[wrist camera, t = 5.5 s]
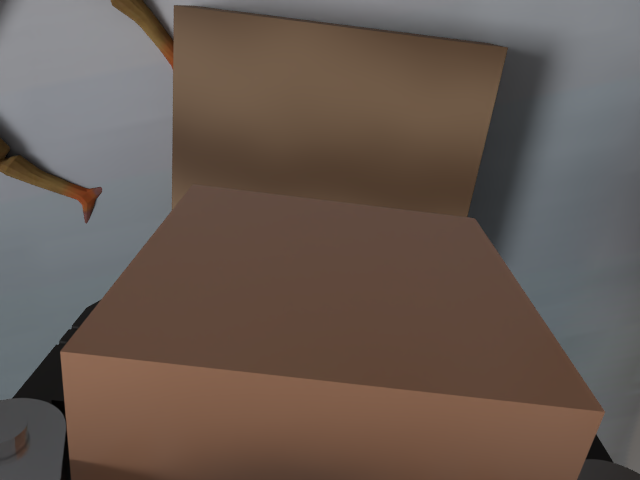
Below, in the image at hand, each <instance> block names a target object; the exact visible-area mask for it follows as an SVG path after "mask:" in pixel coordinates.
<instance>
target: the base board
mask: <svg viewBox="0 0 640 480" xmlns="http://www.w3.org/2000/svg"><path fill="white" fill-rule="evenodd" d="M507 50H508V48H507V47H503V46H498V45H494V44H490V43H482V42H474V41H466V40H458V39H450V38H443V37H435V36H427V35H419V34H411V33H403V32H395V31H387V30H379V29H372V28H364V27H356V26H348V25H340V24H332V23H324V22H316V21H309V20H301V19H293V18H285V17H277V16H269V15H261V14H253V13H246V12H238V11H230V10H222V9H214V8H206V7H198V6H184V5H174V46H173V153H172V210H173V209H174V207H175V206H176V205H177V204H178V202H179V201H180V200H181V199H182V197H183V196H184V195H185V194H186V192H187V191H188V190H189V188H190V187H191V186H192V185H193V184H194V185H202V186H210V187H219V188H227V189H235V190H244V191H252V192H260V193H269V194H277V195H285V196H294V197H302V198H311V199H319V200H327V201H336V202H344V203H352V204H361V205H369V206H377V207H386V208H394V209H402V210H411V211H419V212H427V213H436V214H444V215H452V216H461V217H467V216H468V212H469V207H470V203H471V199H472V195H473V191H474V187H475V182H476V178H477V174H478V170H479V166H480V162H481V158H482V153H483V149H484V145H485V141H486V137H487V133H488V128H489V124H490V120H491V116H492V112H493V108H494V104H495V99H496V95H497V91H498V87H499V83H500V79H501V75H502V70H503V66H504V62H505V58H506V54H507Z"/></svg>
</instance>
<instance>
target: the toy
mask: <svg viewBox="0 0 640 480" xmlns="http://www.w3.org/2000/svg"><path fill="white" fill-rule="evenodd" d="M111 3H112V6H114V7H115V8H117V9H118V10H120V11H121V12H122V13H124V14H125V15H127V16H128V17H130V18H131V19H132V20H134V21H135V22H136V23H137V24H138V25H139V26H140V27H141V28H142V29H143V30H144V31H145V33H146V34H147V35H148V36H149V37H150V39H151V40H152V41H153V42H154V43H155V45H156V46H157V47H158V48H159V49H160V51H161V52H162V53H163V55H164V56H165V57H166V59H167V60H168V62H169V63H170V64H171V66H172V68H173V46H174V41H173V40H172V38H171V37H170V36H169V34H168V33H167V32H166V30H165V29H164V27H163V26H162V25H161V23H160V22H159V21H158V19H157V18H156V17H155V15H154V14H153V13H152V11H151V10H150V9H149V8H148V7H147V5H146V4H145V3H144V2H143V0H111ZM9 151H10V147H9V146H8V145H7V144H6V143H5V142H4V141H3V140H2V139H1V138H0V172H2V173H4V174H5V175H7V176H10V177H13V178H16V179H18V180H21V181H24V182H27V183H30V184H32V185H35V186H38V187H41V188H44V189H47V190H50V191H53V192H56V193H59V194H62V195H65V196H68V197H71V198H74V199H77V200H78V201H79V202H80V203H81V204H82V206H83V213H84V219H85V223H87V222H88V220H89V219H90V216H91V213H92V210H93V207H94V203H95V200H96V198H97V197H98V196H99V195H100V194H101V193H102V188H101V187H97V188H92V189H88V188H84V187H81V186H78V185H75V184H73V183H70V182H68V181H66V180H63V179H61V178H59V177H56V176H54V175H51V174H48V173H46V172H44V171H42V170H40V169H39V168H37V167H36V166H34V165H33V164H32V163H30V162H29V161H27V160H26V159H25V158H23V157H22V156H20V155H17V156H12V157H10V158H6V155H7V154H8V152H9Z"/></svg>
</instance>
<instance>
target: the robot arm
mask: <svg viewBox="0 0 640 480" xmlns="http://www.w3.org/2000/svg"><path fill="white" fill-rule="evenodd" d="M100 301H101V300H100ZM100 301H98V302H96V303H94V304H93V305H91V306H89V307H87V308H86V309H85V310H84V312H83V313H82V314H81V315H80V316H79V318H78V319H77V320H76V321H75V323H74V324H73V325H72V329H69V330H68V331H67V332H66V333H65V335H64V336H63V337H62V338H61V340H60V342H59V345H56V346H55V347H54V348H53V349H52V350H51V352H50V353H49V354H48V355H47V357H46V358H45V359H44V360H43V361H42V363H41V364H40V365H39V366H38V368H37V369H36V370H35V371H34V372H33V374H32V375H31V376H30V377H29V378H28V380H27V381H26V382H25V383H24V385H23V386H22V387H21V388H20V389H19V391H18V392H17V393H16V394H15V396H14V397H13V398H12V399H5V400H0V480H71V472H70V460H69V448H68V437H67V425H66V413H65V402H64V390H63V379H62V367H61V355H60V351H61V350H62V349H63V347H64V346H65V345H66V344H67V342H68V341H69V340H70V338H71V337H72V336H73V335H74V333H75V332H76V331H77V330H78V328H79V327H80V326H81V325H82V323H83V322H84V321H85V320H86V318H87V317H88V316H89V315H90V313H91V312H92V311H93V309H94V308H95V307H96V306H97V304H98V303H99V302H100ZM577 480H640V474H639V473H637V472H635V471H633V470H631V469H629V468H627V467H624V466H622V465H619V464H616V463H613V461H612V459H611V458H610V456H609V454H608V453H607V451H606V450H605V448H604V446H603V445H602V443H601V441H600V440H599V438H598V437H597V435H595V437H594V440H593V442H592V445H591V447H590V450H589V452H588V454H587V457H586V459H585V462H584V464H583V467H582V469H581V471H580V474H579V476H578V479H577Z"/></svg>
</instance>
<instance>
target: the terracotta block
mask: <svg viewBox="0 0 640 480" xmlns="http://www.w3.org/2000/svg"><path fill="white" fill-rule="evenodd" d="M60 355H61V367H62V379H63V390H64V402H65V413H66V425H67V437H68V448H69V460H70V472H71V480H577V479H578V476H579V474H580V471H581V469H582V467H583V464H584V462H585V459H586V457H587V454H588V452H589V450H590V447H591V445H592V442H593V440H594V437H595V435H596V433H597V430H598V428H599V425H600V423H601V421H602V418H603V416H604V413H605V411H604V410H603V408H602V407H601V405H600V404H599V402H598V401H597V399H596V398H595V396H594V395H593V393H592V392H591V390H590V389H589V387H588V386H587V384H586V383H585V381H584V380H583V378H582V377H581V375H580V374H579V373H578V371H577V370H576V368H575V367H574V365H573V364H572V362H571V361H570V359H569V358H568V356H567V355H566V353H565V352H564V350H563V349H562V347H561V346H560V344H559V343H558V341H557V340H556V338H555V337H554V335H553V334H552V332H551V331H550V329H549V328H548V326H547V325H546V323H545V322H544V320H543V319H542V317H541V316H540V314H539V313H538V311H537V310H536V308H535V307H534V305H533V304H532V302H531V301H530V300H529V298H528V297H527V295H526V294H525V292H524V291H523V289H522V288H521V286H520V285H519V283H518V282H517V280H516V279H515V277H514V276H513V274H512V273H511V271H510V270H509V268H508V267H507V265H506V264H505V262H504V261H503V259H502V258H501V256H500V255H499V253H498V252H497V250H496V249H495V247H494V246H493V244H492V243H491V241H490V240H489V238H488V237H487V235H486V234H485V232H484V231H483V229H482V228H481V226H480V225H479V224H478V222H477V221H476V219H475V218H469V217H461V216H452V215H444V214H436V213H427V212H419V211H411V210H402V209H394V208H386V207H377V206H369V205H361V204H352V203H344V202H336V201H327V200H319V199H311V198H302V197H294V196H285V195H277V194H269V193H260V192H252V191H244V190H235V189H227V188H219V187H210V186H202V185H194V184H193V185H192V186H191V187H190V188H189V190H188V191H187V192H186V194H185V195H184V196H183V197H182V199H181V200H180V201H179V202H178V204H177V205H176V206H175V207H174V209H173V210H172V211H171V212H170V214H169V215H168V216H167V217H166V219H165V220H164V221H163V223H162V224H161V225H160V226H159V228H158V229H157V230H156V231H155V233H154V234H153V235H152V236H151V238H150V239H149V240H148V241H147V243H146V244H145V245H144V246H143V248H142V249H141V250H140V251H139V253H138V254H137V255H136V257H135V258H134V259H133V260H132V262H131V263H130V264H129V265H128V267H127V268H126V269H125V270H124V272H123V273H122V274H121V275H120V277H119V278H118V279H117V280H116V282H115V283H114V284H113V286H112V287H111V288H110V289H109V291H108V292H107V293H106V294H105V296H104V297H103V298H102V299H101V301H100V302H99V303H98V304H97V306H96V307H95V308H94V309H93V311H92V312H91V313H90V315H89V316H88V317H87V318H86V320H85V321H84V322H83V323H82V325H81V326H80V327H79V328H78V330H77V331H76V332H75V333H74V335H73V336H72V337H71V338H70V340H69V341H68V342H67V344H66V345H65V346H64V347H63V349H62V350H61V351H60Z"/></svg>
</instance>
